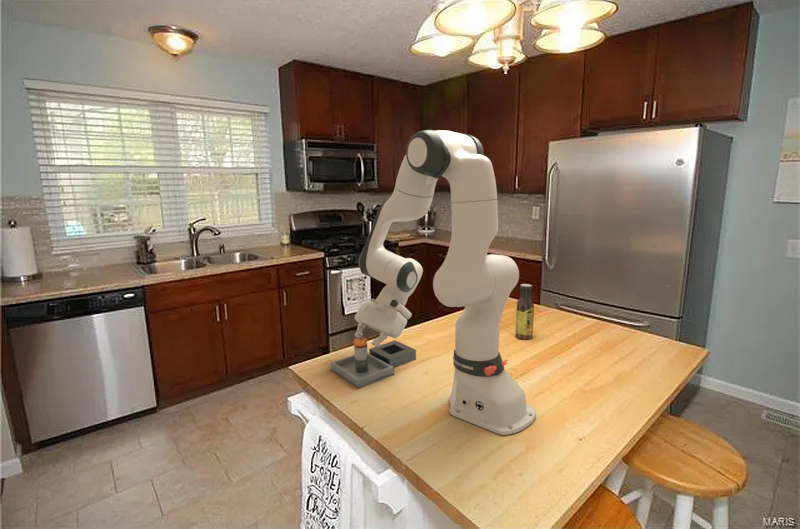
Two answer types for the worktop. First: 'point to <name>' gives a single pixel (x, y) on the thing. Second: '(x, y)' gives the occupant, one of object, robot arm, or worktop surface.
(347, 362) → the tray
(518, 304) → the sauce bottle
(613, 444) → the worktop surface
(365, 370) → the pin
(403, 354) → the receiver
